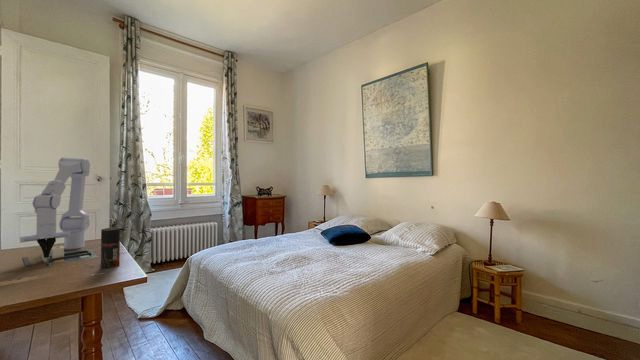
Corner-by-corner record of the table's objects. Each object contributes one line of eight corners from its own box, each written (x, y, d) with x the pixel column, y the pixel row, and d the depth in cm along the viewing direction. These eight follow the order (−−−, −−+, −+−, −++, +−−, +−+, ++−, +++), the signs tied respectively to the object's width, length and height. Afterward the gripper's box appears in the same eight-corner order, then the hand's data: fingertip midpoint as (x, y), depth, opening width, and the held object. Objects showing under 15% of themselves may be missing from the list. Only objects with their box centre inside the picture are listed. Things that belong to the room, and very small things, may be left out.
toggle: (51, 258, 114) (51, 246, 114) (62, 256, 116) (62, 245, 116) (52, 260, 111) (52, 248, 111) (64, 258, 114) (64, 246, 114)
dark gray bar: (22, 260, 113) (22, 257, 113) (27, 260, 114) (27, 256, 114) (25, 270, 103) (25, 266, 103) (30, 269, 104) (30, 265, 104)
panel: (40, 258, 117) (40, 253, 117) (88, 250, 129) (88, 246, 129) (46, 269, 104) (46, 263, 104) (99, 259, 117) (99, 255, 116)
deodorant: (111, 269, 106) (112, 230, 106) (96, 268, 106) (97, 230, 106) (123, 264, 112) (123, 227, 112) (108, 263, 112) (109, 227, 112)
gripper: (20, 227, 103) (20, 263, 103) (72, 223, 114) (71, 255, 114) (19, 225, 107) (19, 259, 108) (69, 221, 119) (68, 251, 119)
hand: (46, 257), depth 111 cm, fingers closed
